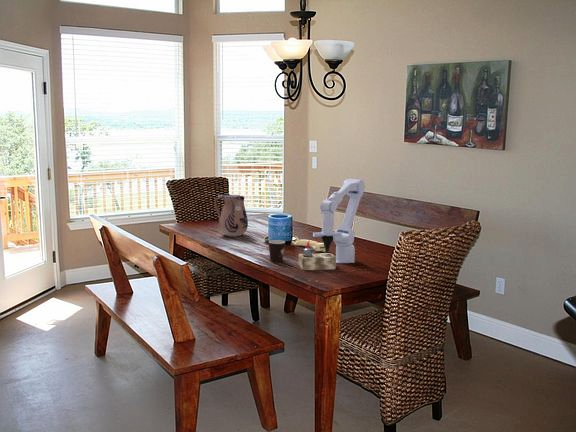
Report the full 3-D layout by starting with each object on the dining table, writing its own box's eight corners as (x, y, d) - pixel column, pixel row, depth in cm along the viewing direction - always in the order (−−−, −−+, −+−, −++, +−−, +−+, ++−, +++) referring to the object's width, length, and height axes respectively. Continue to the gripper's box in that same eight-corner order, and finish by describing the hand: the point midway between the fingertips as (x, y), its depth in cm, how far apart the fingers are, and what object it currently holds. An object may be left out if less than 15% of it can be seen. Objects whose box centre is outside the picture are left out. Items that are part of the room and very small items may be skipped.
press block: (330, 264, 302) (331, 253, 301) (335, 269, 294) (336, 257, 293) (298, 265, 299) (298, 253, 298) (302, 270, 290) (302, 258, 289)
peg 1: (311, 258, 297) (311, 248, 296) (313, 260, 293) (313, 250, 292) (302, 259, 296) (303, 248, 295) (304, 261, 292) (305, 250, 291)
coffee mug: (274, 263, 301) (274, 244, 300) (264, 259, 308) (265, 241, 307) (292, 260, 308) (293, 242, 307) (283, 257, 315) (283, 238, 313)
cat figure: (288, 248, 342) (319, 252, 324) (288, 233, 341) (319, 237, 323) (300, 246, 349) (331, 250, 330) (300, 231, 348) (331, 235, 330)
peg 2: (329, 265, 300) (329, 254, 299) (331, 267, 296) (332, 256, 295) (320, 265, 299) (321, 254, 298) (323, 267, 295) (323, 256, 294)
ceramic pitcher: (246, 238, 357) (247, 198, 353) (211, 237, 358) (211, 197, 353) (248, 233, 375) (249, 194, 370) (215, 232, 375) (216, 193, 371)
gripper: (315, 225, 288) (314, 252, 291) (344, 225, 291) (343, 252, 294) (312, 223, 295) (311, 249, 297) (340, 222, 298) (338, 248, 300)
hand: (326, 250), depth 296 cm, fingers closed
